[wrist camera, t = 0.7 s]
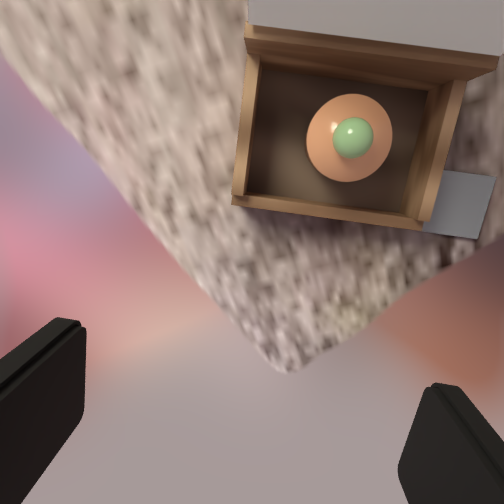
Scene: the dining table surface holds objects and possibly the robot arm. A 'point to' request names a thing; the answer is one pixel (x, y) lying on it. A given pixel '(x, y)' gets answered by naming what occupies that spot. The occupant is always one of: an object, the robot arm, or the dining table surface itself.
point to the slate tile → (460, 204)
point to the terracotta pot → (348, 138)
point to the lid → (393, 21)
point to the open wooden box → (329, 87)
